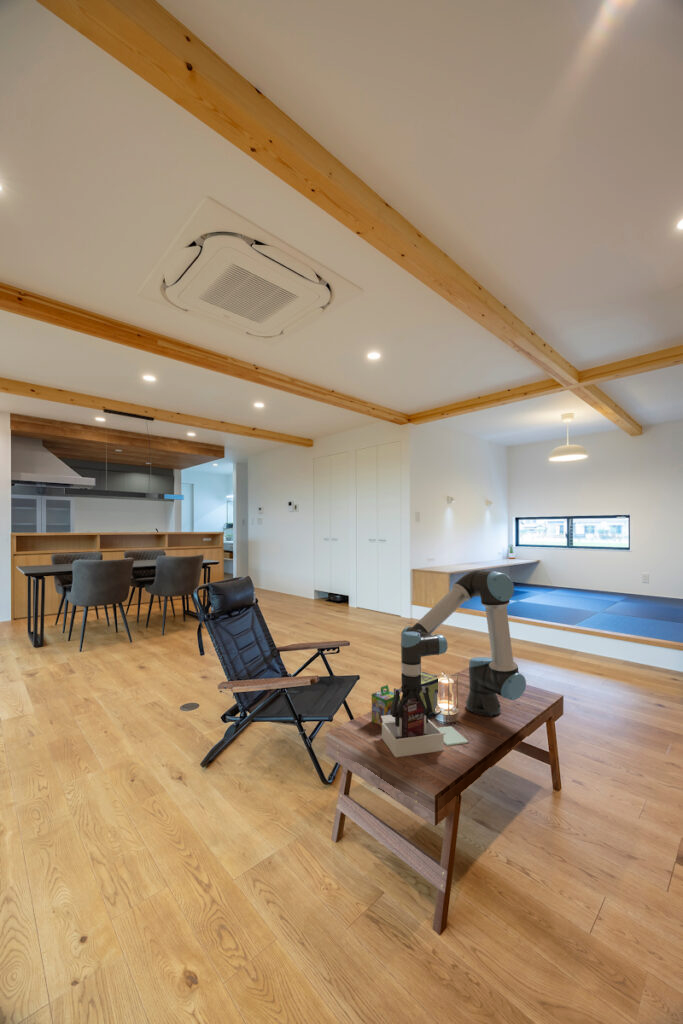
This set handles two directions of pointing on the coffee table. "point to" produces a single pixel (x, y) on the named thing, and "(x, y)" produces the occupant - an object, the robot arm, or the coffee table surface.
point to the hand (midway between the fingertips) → (411, 733)
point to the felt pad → (452, 736)
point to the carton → (411, 739)
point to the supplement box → (412, 719)
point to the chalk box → (382, 704)
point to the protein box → (432, 684)
